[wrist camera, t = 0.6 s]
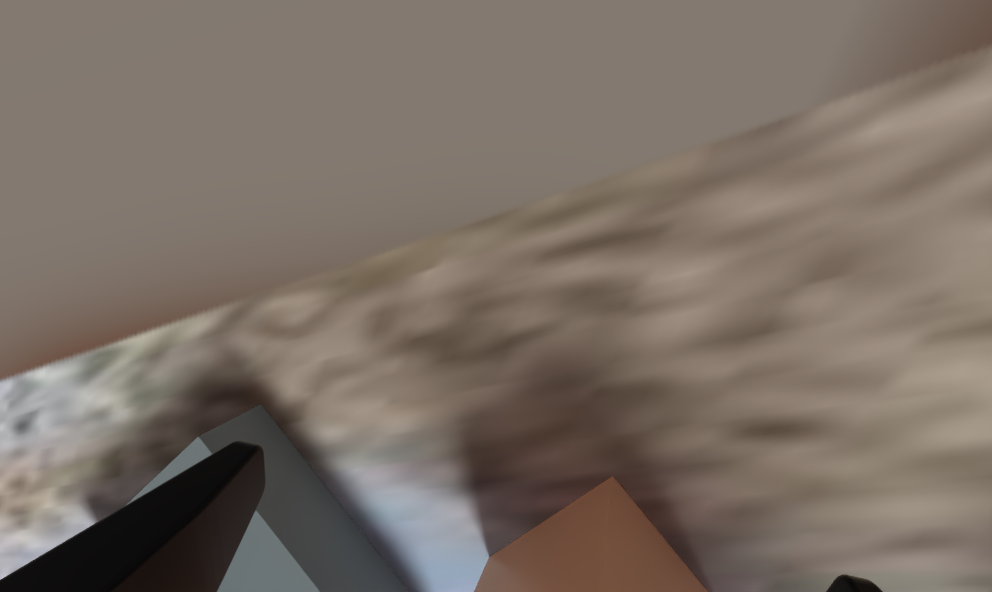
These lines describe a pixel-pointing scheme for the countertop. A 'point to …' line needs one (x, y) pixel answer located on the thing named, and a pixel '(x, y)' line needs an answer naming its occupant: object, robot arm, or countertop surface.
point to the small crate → (590, 552)
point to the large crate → (289, 521)
